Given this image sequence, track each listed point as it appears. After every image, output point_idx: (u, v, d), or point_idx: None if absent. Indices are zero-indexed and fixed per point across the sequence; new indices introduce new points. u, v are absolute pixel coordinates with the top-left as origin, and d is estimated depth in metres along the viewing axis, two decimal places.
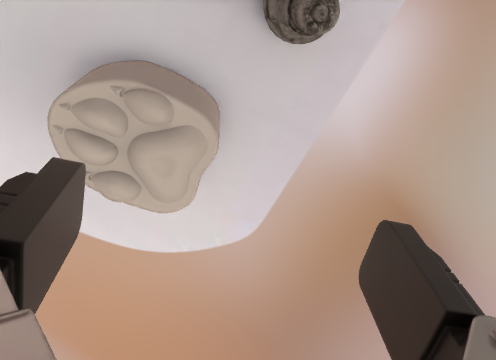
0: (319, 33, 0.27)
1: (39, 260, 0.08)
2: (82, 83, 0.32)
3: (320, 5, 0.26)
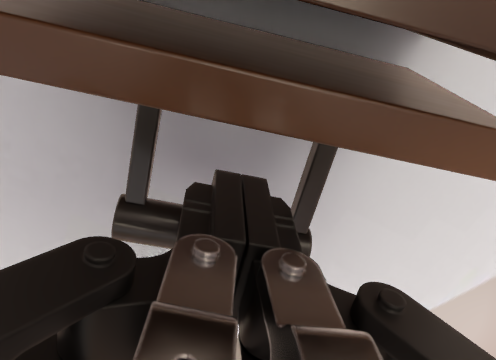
0: None
1: None
2: None
3: None
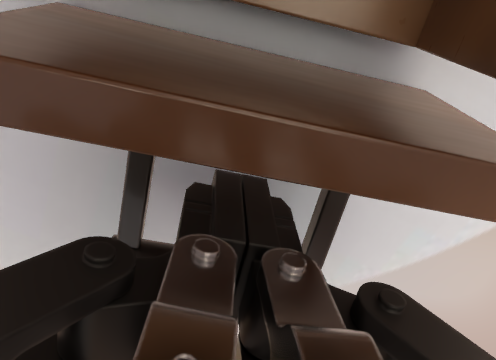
0: None
1: None
2: None
3: None
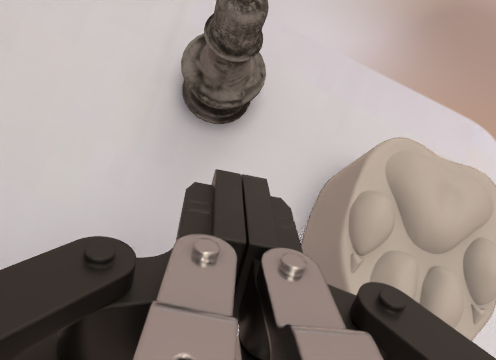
0: None
1: None
2: None
3: None
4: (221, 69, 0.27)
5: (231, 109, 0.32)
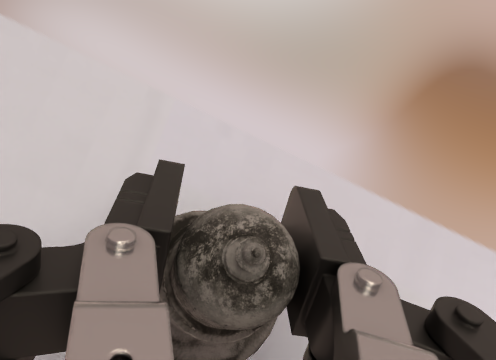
0: (295, 252, 0.10)
1: None
2: None
3: (225, 263, 0.09)
4: None
5: None
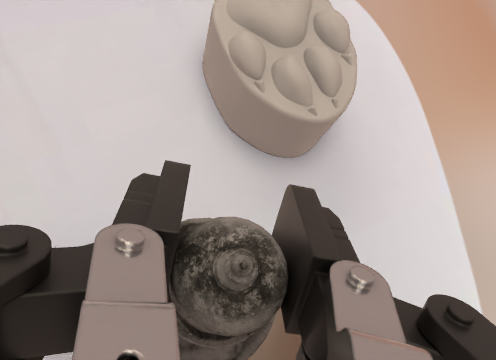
0: (283, 262, 0.10)
1: None
2: (283, 114, 0.31)
3: (216, 273, 0.09)
4: None
5: None
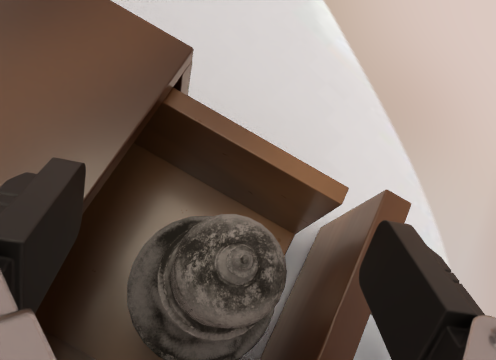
0: (282, 257, 0.11)
1: (39, 260, 0.08)
2: None
3: (217, 268, 0.10)
4: None
5: None
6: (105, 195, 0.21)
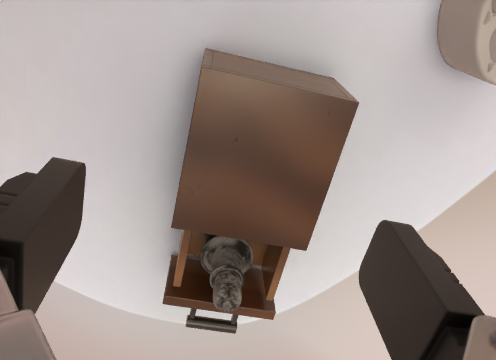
0: None
1: (39, 260, 0.08)
2: (474, 49, 0.37)
3: (224, 302, 0.40)
4: (213, 268, 0.45)
5: None
6: None
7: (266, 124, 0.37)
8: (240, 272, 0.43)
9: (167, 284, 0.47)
